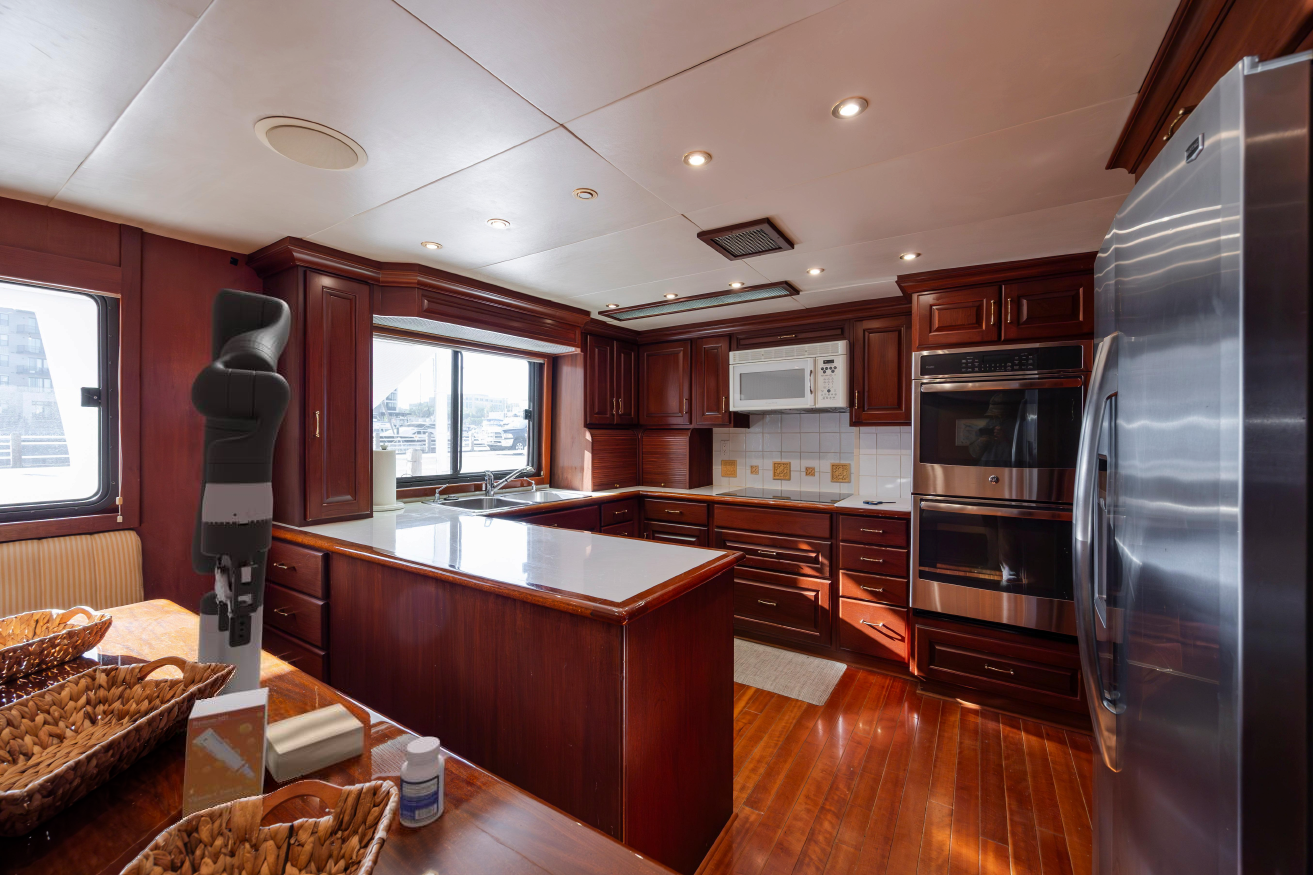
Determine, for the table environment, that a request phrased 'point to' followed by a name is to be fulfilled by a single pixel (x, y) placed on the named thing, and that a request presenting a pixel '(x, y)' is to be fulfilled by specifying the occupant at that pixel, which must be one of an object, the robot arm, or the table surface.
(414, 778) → the pill bottle
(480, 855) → the table surface
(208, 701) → the small box
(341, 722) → the birch block
